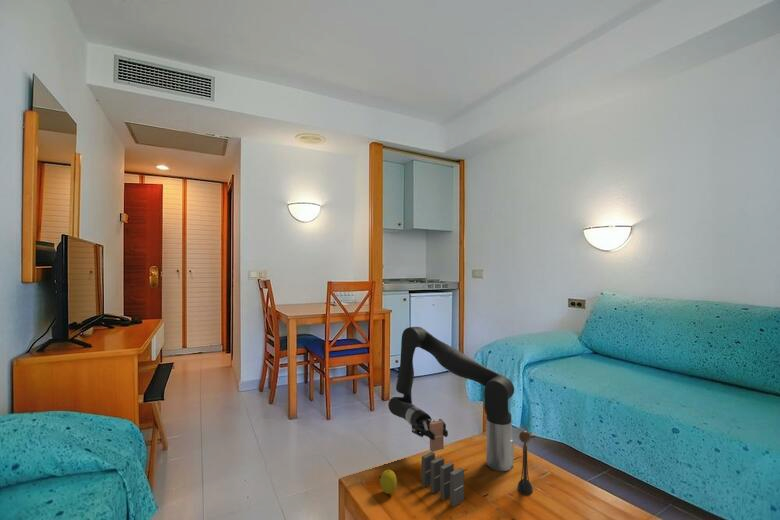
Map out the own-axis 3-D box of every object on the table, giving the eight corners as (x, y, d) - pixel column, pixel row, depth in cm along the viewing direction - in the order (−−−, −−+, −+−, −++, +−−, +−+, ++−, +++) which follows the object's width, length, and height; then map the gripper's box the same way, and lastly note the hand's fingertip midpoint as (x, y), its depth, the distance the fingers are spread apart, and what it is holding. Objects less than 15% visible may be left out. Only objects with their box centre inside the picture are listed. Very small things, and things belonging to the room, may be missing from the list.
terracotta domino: (429, 449, 135) (429, 422, 135) (441, 446, 137) (440, 420, 137) (432, 451, 133) (431, 424, 134) (443, 448, 135) (443, 421, 136)
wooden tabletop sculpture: (531, 485, 126) (531, 427, 127) (538, 493, 122) (538, 433, 122) (515, 486, 125) (515, 428, 126) (521, 494, 121) (521, 434, 121)
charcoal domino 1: (421, 485, 126) (421, 456, 126) (431, 479, 129) (431, 451, 129) (424, 487, 125) (425, 458, 125) (434, 482, 128) (435, 453, 128)
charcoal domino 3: (440, 497, 119) (440, 466, 119) (450, 491, 122) (450, 461, 123) (443, 500, 118) (443, 469, 118) (453, 493, 121) (453, 463, 121)
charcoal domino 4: (449, 504, 116) (450, 472, 116) (460, 497, 119) (460, 467, 119) (453, 506, 115) (453, 475, 115) (463, 500, 118) (464, 469, 118)
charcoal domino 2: (430, 491, 122) (430, 461, 123) (440, 485, 126) (440, 456, 126) (434, 493, 121) (434, 463, 121) (444, 487, 124) (444, 458, 125)
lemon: (398, 490, 123) (398, 467, 123) (393, 500, 117) (393, 475, 118) (383, 487, 124) (383, 464, 125) (377, 497, 119) (377, 472, 119)
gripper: (402, 412, 145) (423, 429, 130) (432, 406, 151) (456, 421, 136) (402, 431, 145) (423, 450, 130) (433, 424, 151) (456, 442, 136)
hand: (440, 435), depth 133 cm, fingers closed on terracotta domino, 5 cm apart
